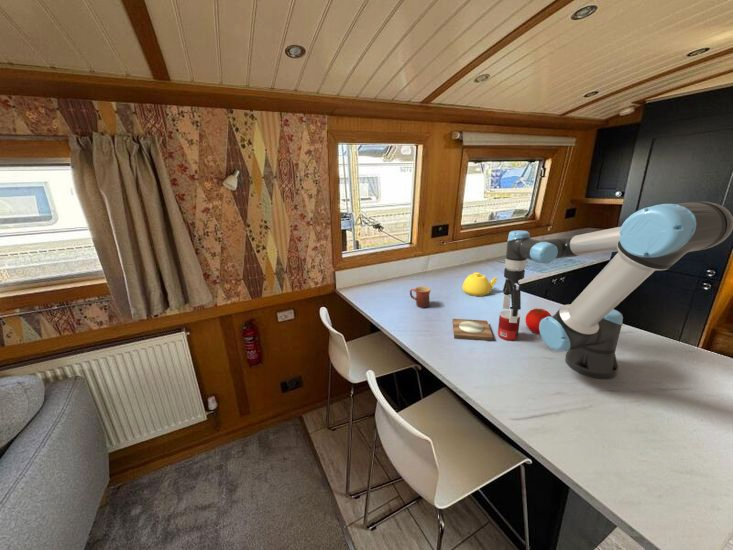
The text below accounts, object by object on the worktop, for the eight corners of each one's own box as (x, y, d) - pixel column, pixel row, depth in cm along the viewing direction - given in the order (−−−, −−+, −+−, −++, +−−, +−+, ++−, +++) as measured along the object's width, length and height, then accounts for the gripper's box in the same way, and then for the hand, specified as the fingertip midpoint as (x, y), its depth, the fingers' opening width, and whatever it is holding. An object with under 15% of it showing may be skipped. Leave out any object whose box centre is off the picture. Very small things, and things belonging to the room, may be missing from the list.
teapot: (463, 296, 173) (464, 276, 170) (460, 286, 191) (461, 267, 187) (498, 298, 169) (500, 277, 165) (493, 287, 186) (494, 268, 182)
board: (492, 341, 124) (493, 336, 123) (454, 338, 128) (454, 333, 127) (486, 324, 139) (487, 319, 138) (452, 322, 142) (452, 318, 142)
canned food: (519, 341, 122) (522, 318, 119) (499, 340, 124) (502, 317, 121) (514, 332, 130) (517, 310, 126) (495, 332, 131) (498, 310, 128)
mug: (432, 304, 165) (432, 287, 162) (428, 310, 158) (428, 292, 154) (412, 301, 170) (412, 285, 167) (407, 306, 163) (407, 290, 160)
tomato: (550, 328, 132) (554, 307, 128) (551, 339, 123) (554, 316, 120) (524, 324, 137) (527, 303, 134) (523, 333, 128) (526, 312, 125)
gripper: (534, 278, 105) (526, 329, 112) (516, 260, 128) (511, 303, 135) (512, 278, 107) (506, 328, 113) (498, 260, 130) (494, 303, 136)
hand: (509, 315), depth 124 cm, fingers open, 13 cm apart
